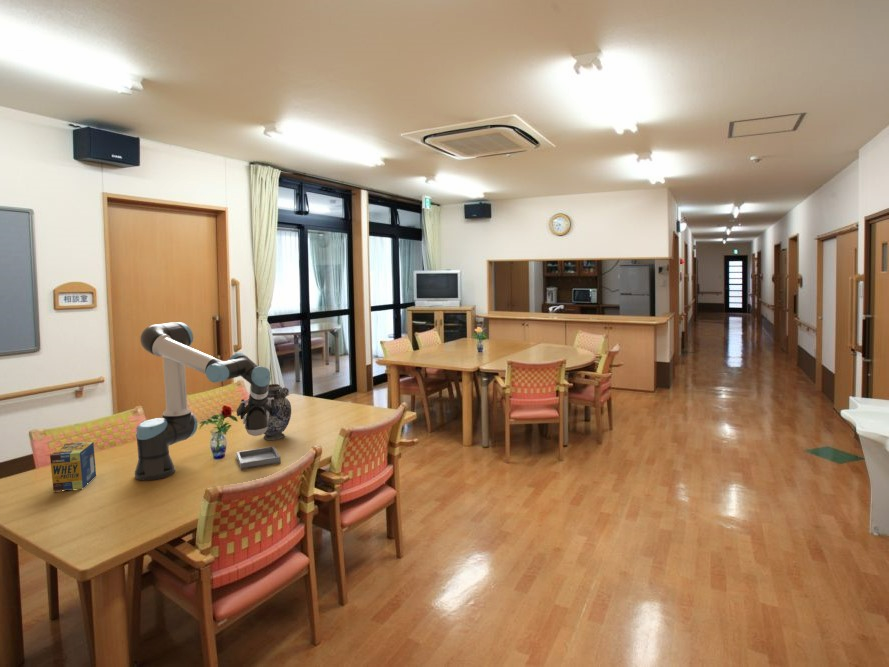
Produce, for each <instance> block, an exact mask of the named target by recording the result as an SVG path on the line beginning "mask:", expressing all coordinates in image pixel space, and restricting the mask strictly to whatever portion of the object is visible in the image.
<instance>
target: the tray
mask: <svg viewBox="0 0 889 667" xmlns="http://www.w3.org/2000/svg"><path fill="white" fill-rule="evenodd" d="M235 454H236V460H237V463H238V466H239V468H240V470H241V471H242V470H247V469H254V468H259V467H266V466H271V465H278V464H281V455H280V454H279V452H278V451H277V449H276V447H275V446H274V445H273V446H266V447H259V448H254V449H253V448H252V449H247V450H240V451H239V450H238V451H236V453H235Z"/></svg>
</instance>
